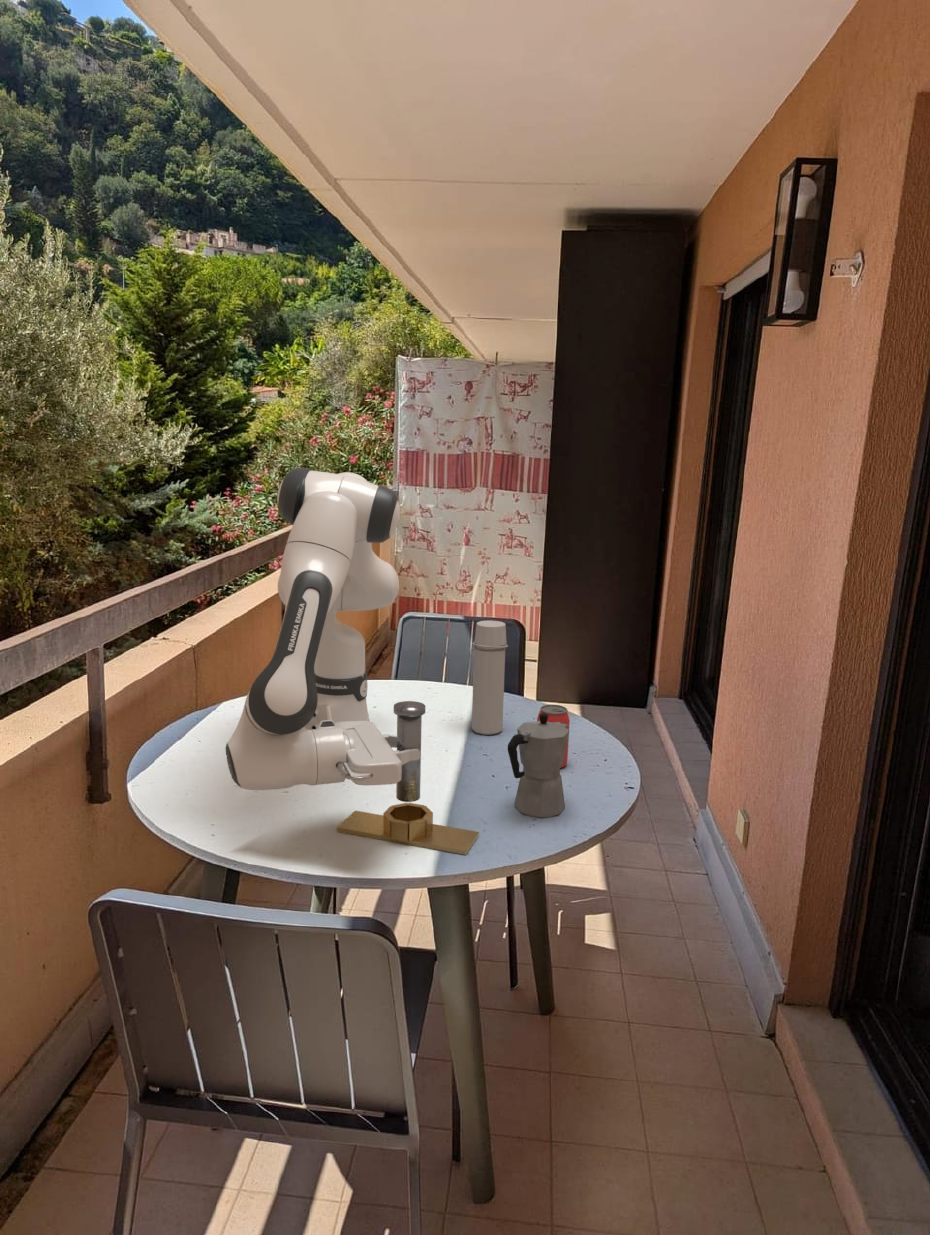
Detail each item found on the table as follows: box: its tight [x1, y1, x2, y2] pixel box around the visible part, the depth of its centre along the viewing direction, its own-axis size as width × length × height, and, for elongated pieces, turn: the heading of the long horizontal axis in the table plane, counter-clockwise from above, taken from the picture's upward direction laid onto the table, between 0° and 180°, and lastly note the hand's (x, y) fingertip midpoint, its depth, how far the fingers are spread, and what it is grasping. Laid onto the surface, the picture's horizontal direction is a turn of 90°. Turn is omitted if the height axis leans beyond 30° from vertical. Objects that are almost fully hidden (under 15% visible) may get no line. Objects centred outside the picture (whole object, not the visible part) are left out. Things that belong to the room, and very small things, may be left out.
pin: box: [393, 700, 426, 803], centre depth 144 cm, size 5×5×16 cm
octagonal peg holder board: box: [336, 802, 480, 856], centre depth 147 cm, size 23×8×4 cm, turn 72°
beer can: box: [536, 704, 571, 769], centre depth 178 cm, size 7×7×12 cm
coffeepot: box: [507, 713, 570, 819], centre depth 156 cm, size 15×9×18 cm, turn 133°
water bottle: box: [471, 620, 509, 736], centre depth 196 cm, size 9×8×25 cm
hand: (414, 747), depth 144 cm, fingers closed on pin, 4 cm apart
